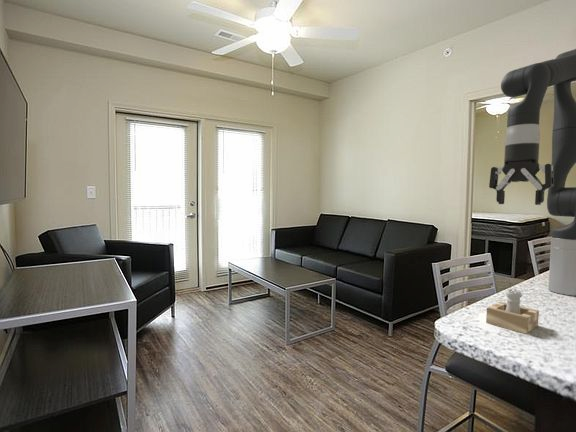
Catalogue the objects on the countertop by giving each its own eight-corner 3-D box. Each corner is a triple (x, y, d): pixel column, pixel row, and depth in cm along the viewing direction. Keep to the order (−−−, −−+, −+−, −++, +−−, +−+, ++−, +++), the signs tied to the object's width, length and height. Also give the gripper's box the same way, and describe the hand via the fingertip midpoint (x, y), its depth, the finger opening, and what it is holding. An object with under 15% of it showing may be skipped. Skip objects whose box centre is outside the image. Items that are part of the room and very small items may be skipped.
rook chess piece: (527, 328, 76) (529, 293, 75) (505, 326, 77) (507, 292, 76) (518, 321, 80) (520, 288, 80) (497, 319, 81) (499, 287, 81)
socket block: (499, 315, 84) (500, 301, 84) (538, 325, 78) (538, 310, 77) (486, 322, 79) (486, 307, 79) (525, 333, 73) (526, 317, 73)
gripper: (559, 142, 86) (555, 205, 87) (497, 147, 97) (495, 203, 98) (550, 138, 82) (546, 205, 83) (487, 145, 93) (484, 204, 94)
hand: (518, 204), depth 91 cm, fingers open, 8 cm apart
